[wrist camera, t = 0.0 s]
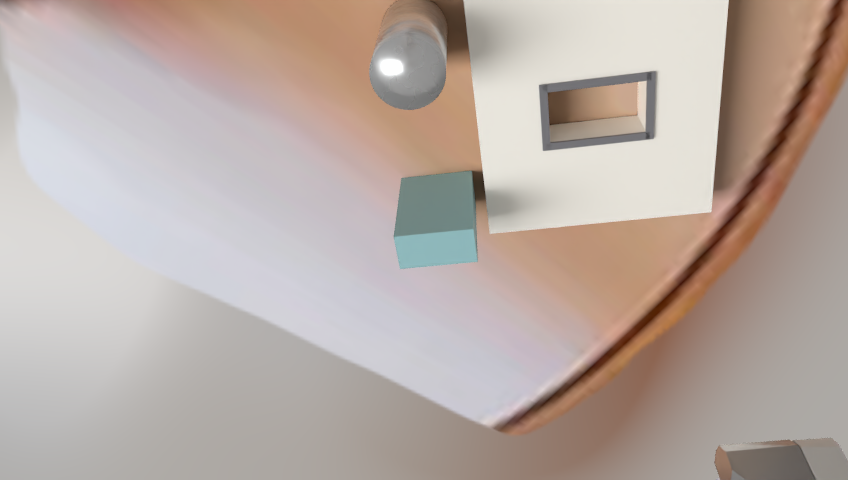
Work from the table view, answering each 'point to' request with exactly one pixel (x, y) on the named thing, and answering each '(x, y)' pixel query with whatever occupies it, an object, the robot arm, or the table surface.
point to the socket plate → (605, 138)
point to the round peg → (410, 54)
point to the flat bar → (436, 220)
